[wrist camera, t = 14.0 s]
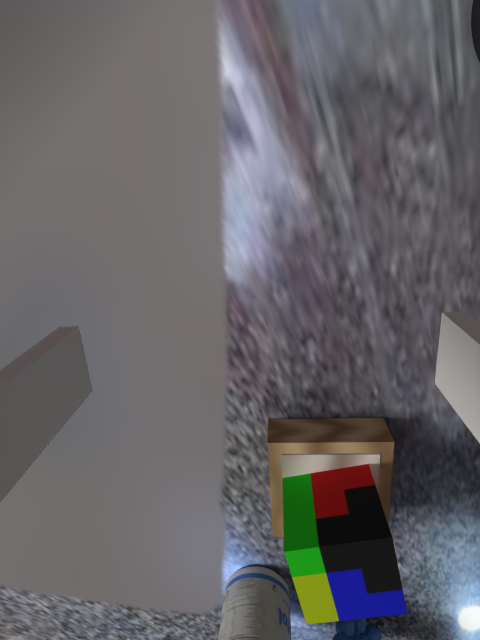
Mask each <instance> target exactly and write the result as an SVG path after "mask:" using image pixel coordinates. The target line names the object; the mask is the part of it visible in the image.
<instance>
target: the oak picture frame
mask: <svg viewBox="0 0 480 640" xmlns="http://www.w3.org/2000/svg"><path fill="white" fill-rule="evenodd" d="M268 455H269V473H270V492H271V510H272V528H273V537H284V528H283V485H282V478H285V477H291V476H297V475H303V474H309V473H315V472H322V471H328V470H334V469H340V468H346V467H352V466H358V465H364V464H369V466H370V469H371V472H372V476H373V479H374V482H375V485H376V488H377V491H378V494H379V498H380V501H381V504H382V507H383V510H384V513H385V516H386V520H387V523H388V526H389V514H390V500H391V485H392V470H393V455H394V440H393V438H392V435H391V433H390V431H389V429H388V426H387V424H386V422H385V419H384V418H325V419H268Z"/></svg>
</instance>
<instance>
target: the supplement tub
mask: <svg viewBox="0 0 480 640" xmlns="http://www.w3.org/2000/svg"><path fill="white" fill-rule="evenodd" d="M219 640H291V624H290V593H289V588H288V585H287V583H286V582H285V580H284V579H283V578H282V577H281V576H280V575H279V574H277V573H276V572H274V571H272V570H270V569H268V568H264V567H258V566H252V567H245V568H242V569H240V570H238V571H236V572H235V573H233V574H232V575H231V577H230V578H229V579H228V581H227V584H226V588H225V595H224V602H223V610H222V617H221V625H220V632H219Z"/></svg>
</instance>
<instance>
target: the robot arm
mask: <svg viewBox="0 0 480 640" xmlns="http://www.w3.org/2000/svg"><path fill="white" fill-rule="evenodd" d="M471 28H472V38H473V43H474V48H475V51H476V54H477V57H478V59H479V61H480V0H473V6H472V17H471ZM435 384H436V385H437V387H438V388H439V389H440V391H441V392H442V393H443V395H444V396H445V398H446V399H447V400H448V402H449V403H450V404H451V406H452V407H453V408H454V410H455V411H456V412H457V414H458V415H459V416H460V418H461V419H462V420H463V422H464V423H465V424H466V426H467V427H468V428H469V430H470V431H471V432H472V434H473V435H474V436H475V438H476V439H477V440H478V442H479V443H480V322H479V321H477V320H476V319H475V318H473V317H472V316H471V315H469V314H468V313H467V312H442V318H441V328H440V337H439V347H438V357H437V367H436V377H435ZM91 392H92V386H91V381H90V377H89V372H88V367H87V363H86V358H85V354H84V349H83V344H82V339H81V334H80V330H79V326H70V327H58V328H57V329H56V330H54V331H53V332H52V333H50V334H49V335H48V336H46V337H45V338H44V339H42V340H41V341H39V342H38V343H37V344H35V345H34V346H32V347H31V348H30V349H28V350H27V351H26V352H24V353H23V354H22V355H20V356H19V357H17V358H16V359H15V360H13V361H12V362H11V363H9V364H8V365H6V366H5V367H4V368H2V369H1V370H0V502H1V501H2V500H3V499H4V497H5V496H6V495H7V494H8V493H9V491H10V490H11V489H12V488H13V487H14V485H15V484H16V483H17V482H18V480H19V479H20V478H21V477H22V476H23V474H24V473H25V472H26V471H27V470H28V468H29V467H30V466H31V465H32V463H33V462H34V461H35V460H36V459H37V457H38V456H39V455H40V454H41V452H42V451H43V450H44V449H45V448H46V447H47V445H48V444H49V443H50V442H51V440H52V439H53V438H54V437H55V435H56V434H57V433H58V432H59V430H61V428H62V427H63V426H64V425H65V423H66V422H67V421H68V420H69V419H70V417H71V416H72V415H73V414H74V412H75V411H76V410H77V409H78V408H79V406H80V405H81V404H82V403H83V402H84V400H85V399H86V398H87V397H88V395H89V394H90V393H91Z"/></svg>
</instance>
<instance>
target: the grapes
mask: <svg viewBox="0 0 480 640" xmlns="http://www.w3.org/2000/svg"><path fill="white" fill-rule="evenodd" d="M336 632H337V634H336V635H335V636H334V637H333V640H381V632H380V630H379V629H378V628H377V627H376V626H374V625H371V624H369V625H366V619H365V618H363V619H353V620H344V621H336Z"/></svg>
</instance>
